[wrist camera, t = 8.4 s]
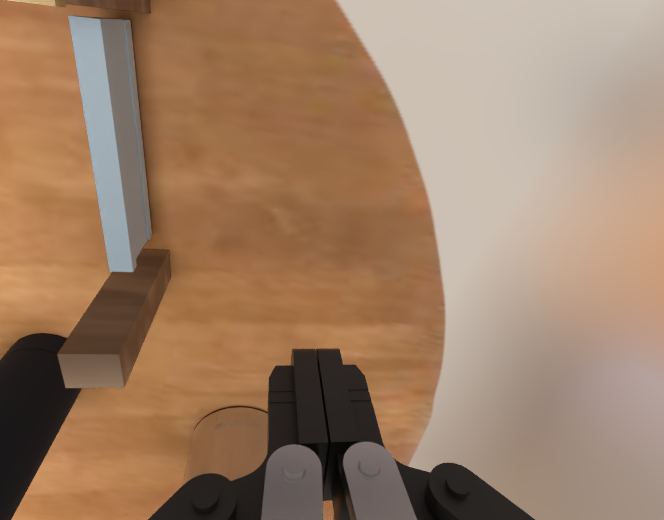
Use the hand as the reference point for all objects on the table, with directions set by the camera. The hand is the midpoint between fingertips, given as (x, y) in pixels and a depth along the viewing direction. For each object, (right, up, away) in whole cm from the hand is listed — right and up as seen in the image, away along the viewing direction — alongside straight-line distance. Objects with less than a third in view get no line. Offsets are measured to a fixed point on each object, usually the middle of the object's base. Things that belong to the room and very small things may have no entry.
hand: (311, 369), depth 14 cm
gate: (-13, +12, +14) cm, 22 cm away
